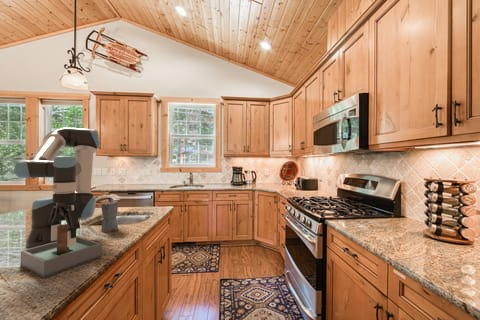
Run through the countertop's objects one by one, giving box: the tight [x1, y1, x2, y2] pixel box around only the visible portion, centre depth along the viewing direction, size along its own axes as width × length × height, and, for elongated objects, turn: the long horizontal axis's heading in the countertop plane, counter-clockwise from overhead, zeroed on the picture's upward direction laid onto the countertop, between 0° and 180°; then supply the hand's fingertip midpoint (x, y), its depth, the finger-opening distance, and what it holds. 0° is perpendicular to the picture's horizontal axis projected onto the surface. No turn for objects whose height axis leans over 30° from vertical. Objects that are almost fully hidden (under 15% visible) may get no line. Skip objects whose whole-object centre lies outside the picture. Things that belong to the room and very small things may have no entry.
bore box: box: [19, 235, 103, 279], centre depth 90 cm, size 20×20×6 cm
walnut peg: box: [57, 223, 69, 256], centre depth 90 cm, size 4×4×14 cm
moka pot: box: [100, 197, 119, 233], centre depth 133 cm, size 10×15×20 cm, turn 24°
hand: (63, 242), depth 90 cm, fingers open, 13 cm apart
